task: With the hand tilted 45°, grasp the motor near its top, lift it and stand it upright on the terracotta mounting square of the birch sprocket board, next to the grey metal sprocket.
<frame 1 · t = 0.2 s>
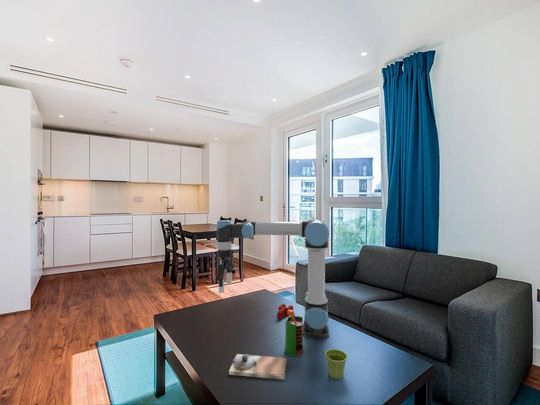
hand: (225, 288, 149), 28 cm above the table, tool pointing down, fingers open, 13 cm apart
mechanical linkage: (283, 316, 179), on the table
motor: (294, 351, 138), on the table
sprocket board: (258, 367, 125), on the table
plant pot: (336, 375, 120), on the table
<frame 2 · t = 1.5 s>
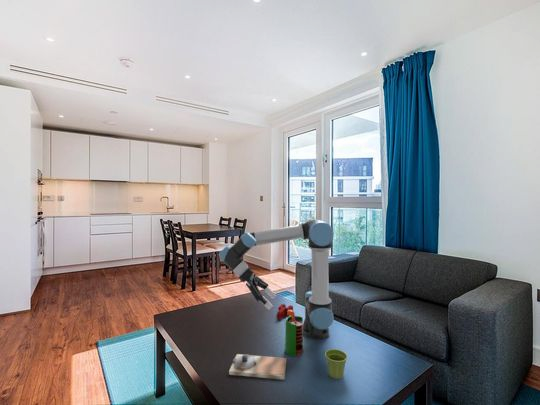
hand: (272, 302, 139), 24 cm above the table, tool tilted 45°, fingers open, 13 cm apart
nothing on the table moved.
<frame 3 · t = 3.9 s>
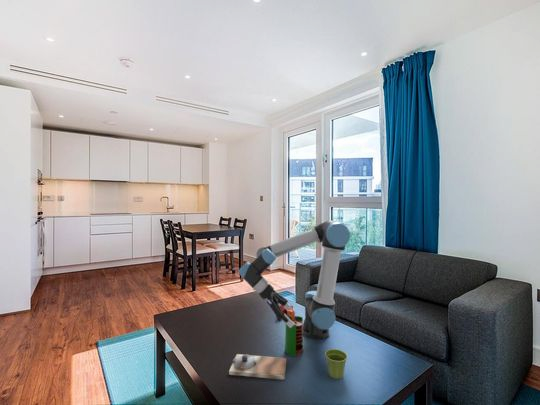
hand: (293, 319, 138), 16 cm above the table, tool tilted 45°, fingers open, 13 cm apart
nothing on the table moved.
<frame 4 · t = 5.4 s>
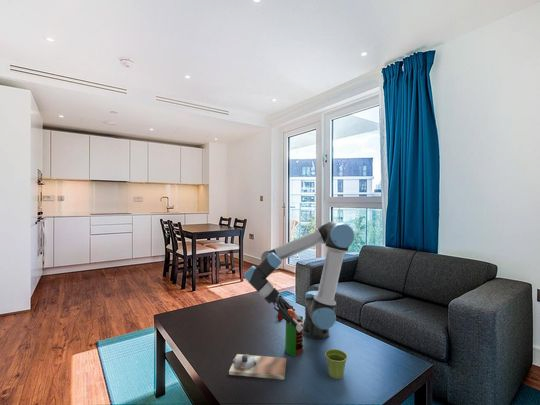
hand: (301, 326, 138), 13 cm above the table, tool tilted 45°, fingers closed on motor, 7 cm apart
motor: (294, 350, 138), on the table, touching gripper
everything else where it was.
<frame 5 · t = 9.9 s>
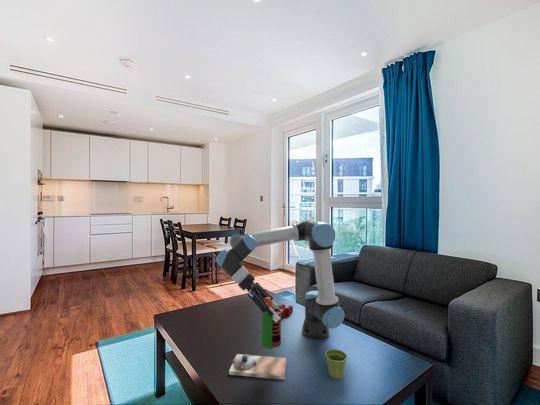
hand: (279, 316, 123), 24 cm above the table, tool tilted 45°, fingers closed on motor, 7 cm apart
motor: (271, 343, 124), point 12 cm above the table, touching gripper
everything else where it was.
when the fingers open (15 cm above the table, at t = 12.1 s): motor drops 1 cm, resting on sprocket board.
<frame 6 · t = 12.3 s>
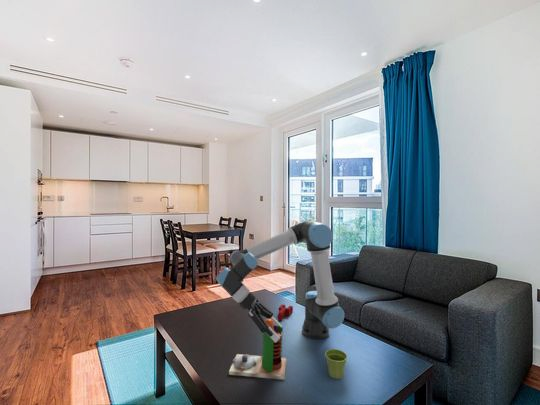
hand: (279, 334, 123), 16 cm above the table, tool tilted 45°, fingers open, 9 cm apart
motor: (271, 365, 124), point 2 cm above the table, touching sprocket board
everything else where it was.
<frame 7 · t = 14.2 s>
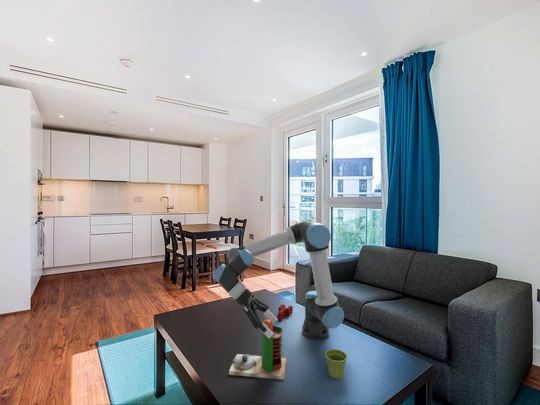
hand: (273, 328, 123), 18 cm above the table, tool tilted 45°, fingers open, 13 cm apart
nothing on the table moved.
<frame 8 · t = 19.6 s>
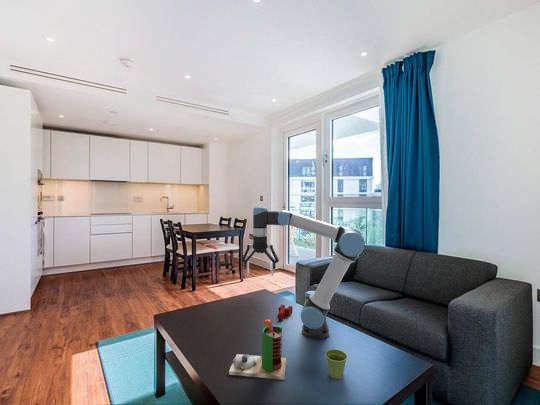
hand: (260, 274, 150), 35 cm above the table, tool pointing down, fingers open, 13 cm apart
at the end: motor inside the target area on the sprocket board (0.1 cm from its centre), point 1.5 cm above the sprocket board's base; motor tilted 0°; the gripper is holding nothing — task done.
